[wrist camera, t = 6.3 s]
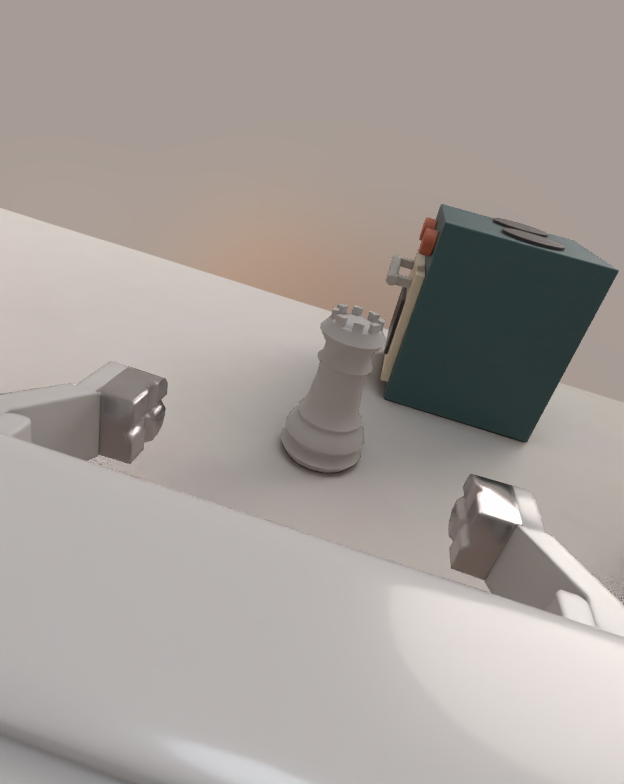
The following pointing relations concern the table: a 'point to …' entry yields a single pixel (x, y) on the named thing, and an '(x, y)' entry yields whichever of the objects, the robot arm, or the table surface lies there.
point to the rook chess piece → (335, 394)
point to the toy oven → (489, 320)
